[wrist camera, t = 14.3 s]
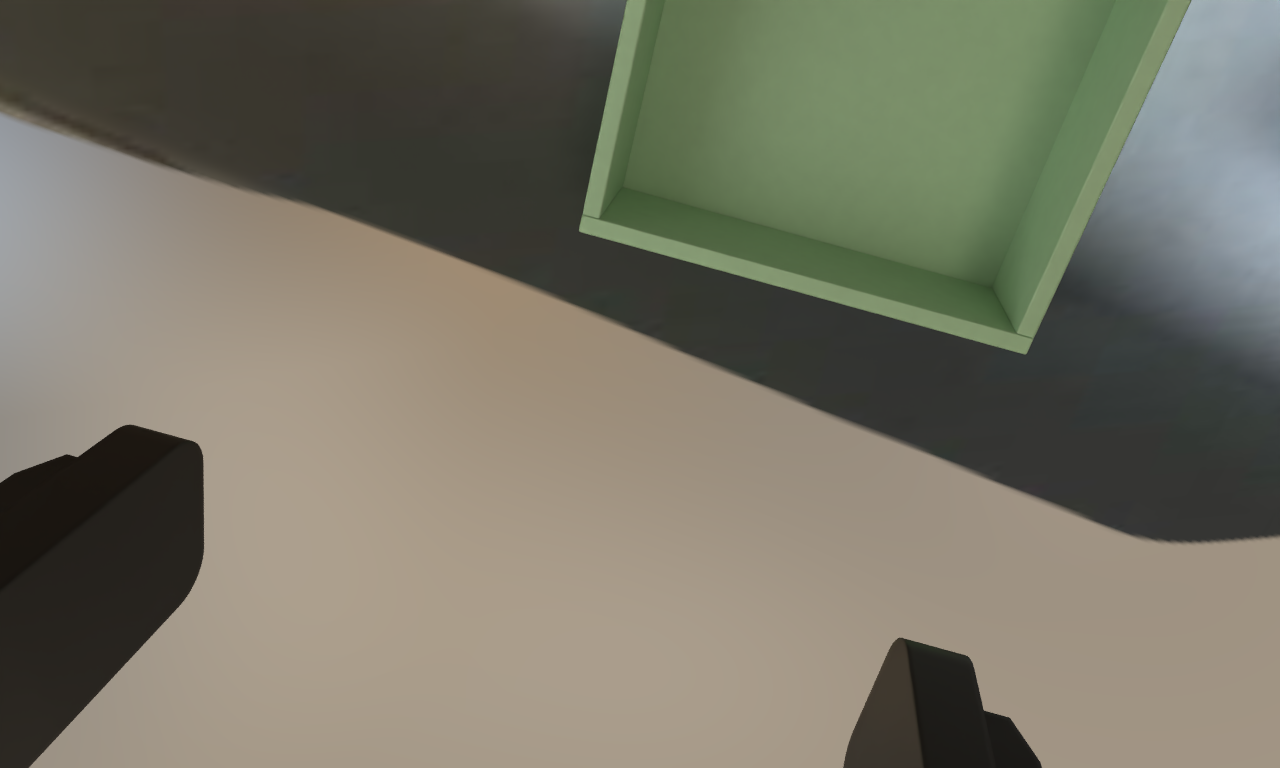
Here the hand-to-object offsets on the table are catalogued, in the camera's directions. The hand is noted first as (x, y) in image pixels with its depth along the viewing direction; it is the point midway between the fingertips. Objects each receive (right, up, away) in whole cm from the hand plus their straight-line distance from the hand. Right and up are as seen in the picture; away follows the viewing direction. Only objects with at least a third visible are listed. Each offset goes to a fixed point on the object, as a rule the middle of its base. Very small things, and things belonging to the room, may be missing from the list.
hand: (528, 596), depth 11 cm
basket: (+9, +13, +22) cm, 27 cm away
